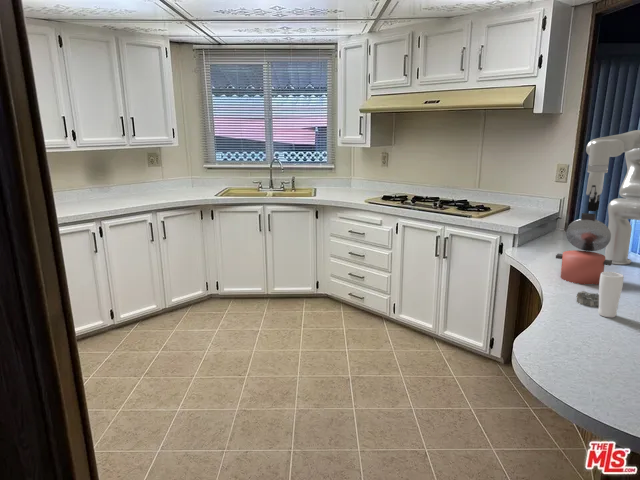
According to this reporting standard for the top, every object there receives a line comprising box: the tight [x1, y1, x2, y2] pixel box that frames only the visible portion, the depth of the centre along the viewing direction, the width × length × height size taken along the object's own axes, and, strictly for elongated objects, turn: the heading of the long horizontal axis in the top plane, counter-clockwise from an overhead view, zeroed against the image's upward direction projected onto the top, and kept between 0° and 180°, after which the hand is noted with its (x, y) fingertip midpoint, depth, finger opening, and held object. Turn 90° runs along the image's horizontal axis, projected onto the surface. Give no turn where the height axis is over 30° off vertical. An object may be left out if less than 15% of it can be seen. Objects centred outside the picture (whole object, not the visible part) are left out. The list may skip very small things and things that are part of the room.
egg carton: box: [575, 290, 599, 307], centre depth 163 cm, size 11×8×4 cm
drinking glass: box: [597, 271, 624, 318], centre depth 151 cm, size 7×7×15 cm
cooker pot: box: [555, 249, 613, 285], centre depth 191 cm, size 18×21×11 cm
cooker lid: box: [565, 212, 611, 252], centre depth 191 cm, size 20×17×3 cm
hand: (593, 209), depth 193 cm, fingers open, 4 cm apart
